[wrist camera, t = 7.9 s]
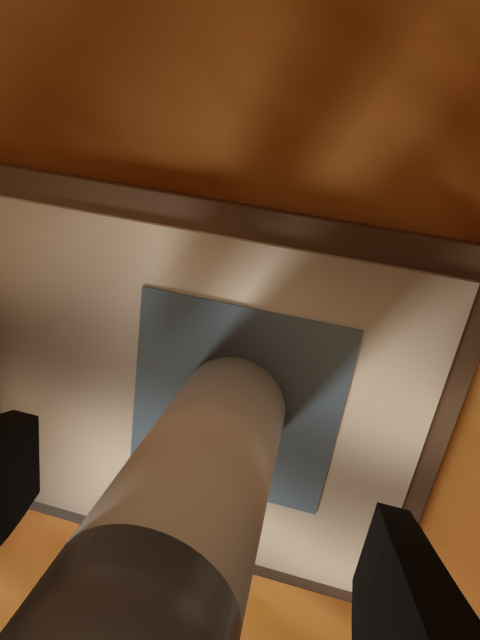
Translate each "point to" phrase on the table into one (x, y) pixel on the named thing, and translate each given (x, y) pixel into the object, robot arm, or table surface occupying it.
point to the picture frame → (236, 348)
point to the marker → (171, 523)
